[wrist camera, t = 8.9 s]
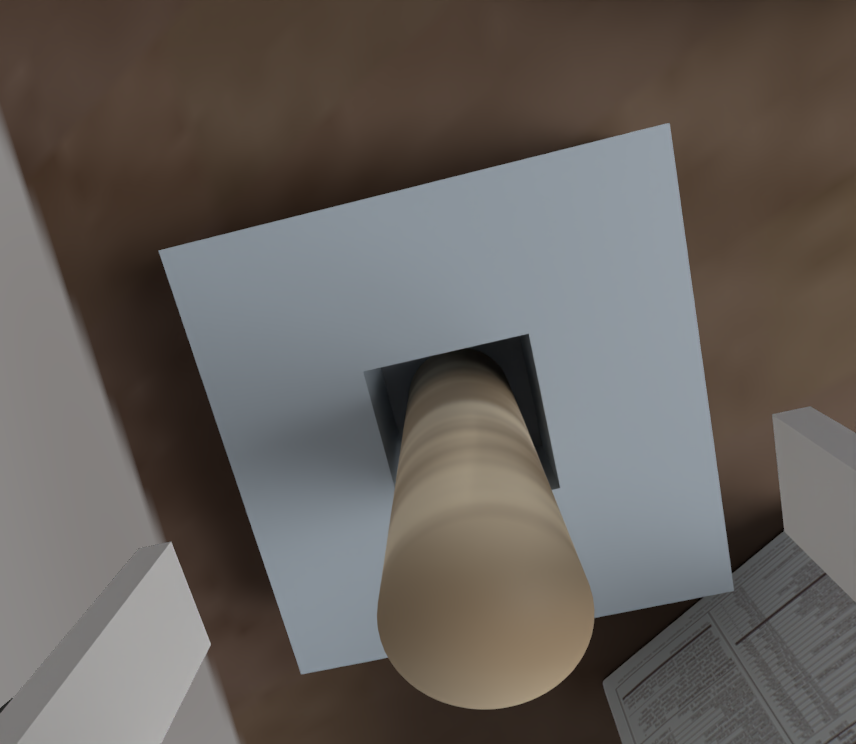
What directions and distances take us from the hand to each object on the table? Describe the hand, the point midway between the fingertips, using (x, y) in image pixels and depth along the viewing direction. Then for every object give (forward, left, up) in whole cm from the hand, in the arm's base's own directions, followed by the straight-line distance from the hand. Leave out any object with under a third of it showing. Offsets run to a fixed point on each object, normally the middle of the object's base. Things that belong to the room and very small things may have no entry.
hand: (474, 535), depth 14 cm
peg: (0, 0, -12) cm, 12 cm away
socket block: (0, 0, -13) cm, 13 cm away
